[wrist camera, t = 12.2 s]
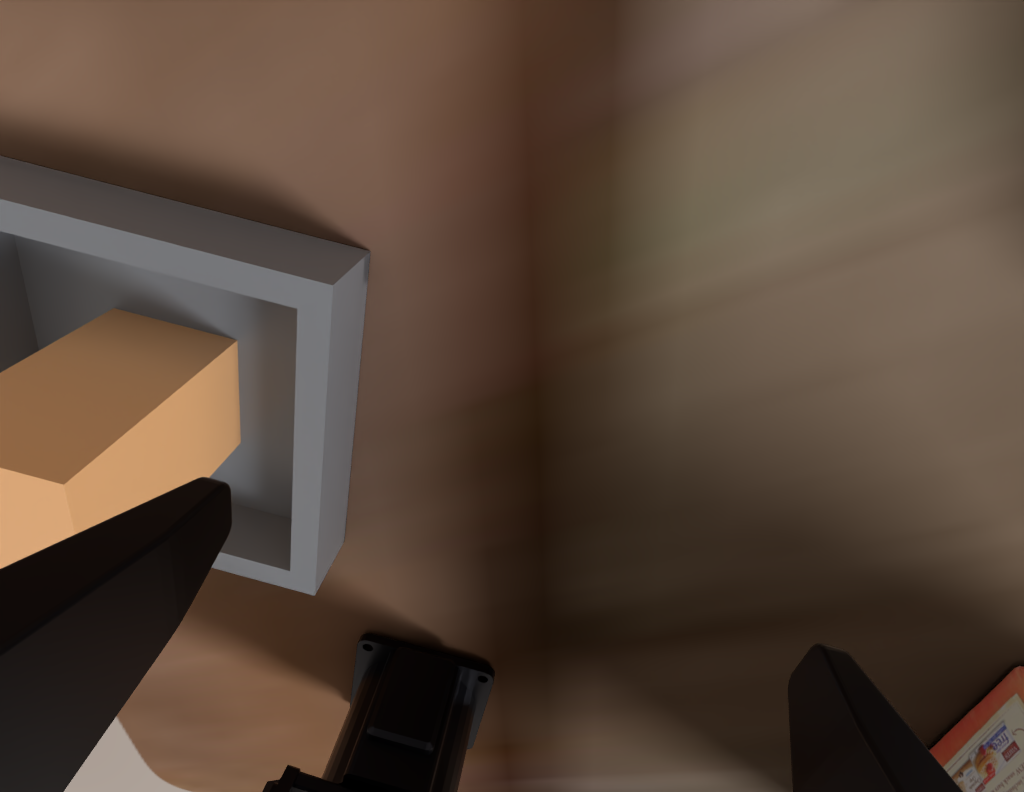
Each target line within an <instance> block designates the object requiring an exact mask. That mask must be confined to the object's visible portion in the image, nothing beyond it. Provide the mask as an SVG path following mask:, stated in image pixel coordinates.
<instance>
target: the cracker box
mask: <svg viewBox="0 0 1024 792" xmlns="http://www.w3.org/2000/svg"><path fill="white" fill-rule="evenodd" d="M929 751H930V752H931V753H932V755H933V756H934V757H935V758H936V760H937V761H938V762H939V763H940V764H941V766H942V767H943V768H944V769H945V770H946V772H947V773H948V774H949V775H950V776H951V778H952V779H953V780H954V781H955V783H956V784H957V785H958V786H959V787H960V789H961V790H962V791H963V792H1024V667H1023V666H1018V667H1016V668H1014V669H1013V670H1012V671H1011V672H1010V673H1009V674H1008V675H1007V676H1006V677H1005V678H1004V679H1003V680H1002V681H1001V682H1000V683H999V684H998V685H997V686H996V687H995V688H994V689H993V690H992V691H991V692H990V693H989V694H988V695H987V696H986V697H985V698H984V699H983V700H982V701H981V702H980V703H979V704H977V705H976V706H975V707H974V708H973V709H972V710H971V711H970V712H969V713H968V714H967V715H966V716H965V717H964V718H962V719H961V720H960V721H959V722H958V723H957V724H956V725H955V726H954V727H953V728H952V729H951V730H950V731H949V732H948V733H947V734H946V735H945V736H944V737H943V738H942V739H941V740H940V741H939V742H938V743H937V744H936V745H935V746H934V747H933V748H931V749H930V750H929Z"/></svg>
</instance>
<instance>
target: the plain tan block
mask: <svg viewBox="0 0 1024 792" xmlns="http://www.w3.org/2000/svg"><path fill="white" fill-rule="evenodd" d="M240 443H241V435H240V404H239V373H238V342H237V340H234V339H230V338H227V337H223V336H219V335H215V334H211V333H207V332H203V331H200V330H196V329H192V328H188V327H184V326H180V325H177V324H173V323H169V322H165V321H161V320H157V319H154V318H150V317H146V316H142V315H138V314H134V313H131V312H127V311H123V310H119V309H115V308H113V309H111V310H110V311H108V312H106V313H104V314H103V315H101V316H99V317H97V318H96V319H94V320H92V321H90V322H89V323H87V324H85V325H83V326H82V327H80V328H78V329H76V330H74V331H73V332H71V333H69V334H67V335H66V336H64V337H62V338H60V339H59V340H57V341H55V342H53V343H52V344H50V345H48V346H46V347H45V348H43V349H41V350H39V351H38V352H36V353H34V354H32V355H31V356H29V357H27V358H25V359H24V360H22V361H20V362H18V363H17V364H15V365H13V366H11V367H10V368H8V369H6V370H4V371H3V372H1V373H0V569H1V568H3V567H5V566H8V565H10V564H12V563H14V562H16V561H18V560H21V559H23V558H25V557H27V556H29V555H31V554H34V553H36V552H38V551H40V550H42V549H44V548H47V547H49V546H51V545H53V544H55V543H58V542H60V541H62V540H64V539H66V538H68V537H71V536H73V535H75V534H77V533H79V532H81V531H84V530H86V529H88V528H90V527H92V526H95V525H97V524H99V523H101V522H103V521H105V520H108V519H110V518H112V517H114V516H116V515H118V514H121V513H123V512H125V511H127V510H129V509H131V508H134V507H136V506H138V505H140V504H142V503H145V502H147V501H149V500H151V499H153V498H155V497H158V496H160V495H162V494H164V493H166V492H168V491H171V490H173V489H175V488H177V487H179V486H182V485H184V484H186V483H188V482H190V481H192V480H195V479H197V478H200V477H208V478H209V477H210V476H211V475H212V474H213V473H214V472H215V471H216V469H217V468H218V467H219V466H220V465H221V464H222V463H223V462H224V461H225V460H226V458H227V457H228V456H229V455H230V454H231V453H232V452H233V451H234V450H235V449H236V447H237V446H238V445H239V444H240Z"/></svg>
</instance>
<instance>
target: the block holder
mask: <svg viewBox="0 0 1024 792" xmlns="http://www.w3.org/2000/svg"><path fill="white" fill-rule="evenodd" d="M369 262H370V251H367V250H364V249H360V248H356V247H352V246H348V245H344V244H340V243H336V242H333V241H329V240H325V239H321V238H317V237H313V236H309V235H305V234H302V233H298V232H294V231H290V230H286V229H282V228H278V227H274V226H271V225H267V224H263V223H259V222H255V221H251V220H247V219H244V218H240V217H236V216H232V215H228V214H224V213H220V212H216V211H213V210H209V209H205V208H201V207H197V206H193V205H189V204H185V203H182V202H178V201H174V200H170V199H166V198H162V197H158V196H154V195H151V194H147V193H143V192H139V191H135V190H131V189H127V188H124V187H120V186H116V185H112V184H108V183H104V182H100V181H96V180H93V179H89V178H85V177H81V176H77V175H73V174H69V173H65V172H62V171H58V170H54V169H50V168H46V167H42V166H38V165H34V164H31V163H27V162H23V161H19V160H15V159H11V158H7V157H4V156H0V373H1V372H3V371H4V370H6V369H8V368H10V367H11V366H13V365H15V364H17V363H18V362H20V361H22V360H24V359H25V358H27V357H29V356H31V355H32V354H34V353H36V352H38V351H39V350H41V349H43V348H45V347H46V346H48V345H50V344H52V343H53V342H55V341H57V340H59V339H60V338H62V337H64V336H66V335H67V334H69V333H71V332H73V331H74V330H76V329H78V328H80V327H82V326H83V325H85V324H87V323H89V322H90V321H92V320H94V319H96V318H97V317H99V316H101V315H103V314H104V313H106V312H108V311H110V310H111V309H113V308H115V309H119V310H123V311H127V312H131V313H134V314H138V315H142V316H146V317H150V318H154V319H157V320H161V321H165V322H169V323H173V324H177V325H180V326H184V327H188V328H192V329H196V330H200V331H203V332H207V333H211V334H215V335H219V336H223V337H227V338H230V339H234V340H237V342H238V373H239V404H240V435H241V443H240V444H239V445H238V446H237V447H236V449H235V450H234V451H233V452H232V453H231V454H230V455H229V456H228V457H227V458H226V460H225V461H224V462H223V463H222V464H221V465H220V466H219V467H218V468H217V469H216V471H215V472H214V473H213V474H212V475H211V476H210V477H209V478H212V479H216V480H219V481H223V482H226V483H228V484H229V486H230V488H231V502H232V527H231V531H230V533H229V536H228V538H227V540H226V542H225V543H224V545H223V547H222V549H221V551H220V553H219V554H218V556H217V558H216V560H215V562H214V563H213V565H212V567H211V568H215V569H219V570H222V571H226V572H229V573H233V574H237V575H240V576H244V577H248V578H251V579H255V580H259V581H262V582H266V583H270V584H273V585H277V586H281V587H284V588H288V589H292V590H295V591H299V592H303V593H306V594H310V595H313V596H315V594H316V592H317V591H318V589H319V587H320V585H321V583H322V581H323V580H324V578H325V576H326V574H327V572H328V570H329V568H330V567H331V565H332V563H333V561H334V559H335V557H336V556H337V554H338V552H339V550H340V548H341V546H342V544H343V543H344V539H345V528H346V517H347V506H348V494H349V483H350V472H351V461H352V450H353V439H354V428H355V417H356V406H357V395H358V384H359V372H360V361H361V350H362V339H363V328H364V317H365V306H366V295H367V284H368V273H369Z"/></svg>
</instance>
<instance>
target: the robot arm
mask: <svg viewBox="0 0 1024 792" xmlns="http://www.w3.org/2000/svg"><path fill="white" fill-rule="evenodd" d="M231 527H232V502H231V488H230V486H229V484H228V483H226V482H223V481H219V480H216V479H212V478H208V477H200V478H197V479H195V480H192V481H190V482H188V483H186V484H184V485H182V486H179V487H177V488H175V489H173V490H171V491H168V492H166V493H164V494H162V495H160V496H158V497H155V498H153V499H151V500H149V501H147V502H145V503H142V504H140V505H138V506H136V507H134V508H131V509H129V510H127V511H125V512H123V513H121V514H118V515H116V516H114V517H112V518H110V519H108V520H105V521H103V522H101V523H99V524H97V525H95V526H92V527H90V528H88V529H86V530H84V531H81V532H79V533H77V534H75V535H73V536H71V537H68V538H66V539H64V540H62V541H60V542H58V543H55V544H53V545H51V546H49V547H47V548H44V549H42V550H40V551H38V552H36V553H34V554H31V555H29V556H27V557H25V558H23V559H21V560H18V561H16V562H14V563H12V564H10V565H8V566H5V567H3V568H1V569H0V792H64V790H65V789H66V787H67V786H68V784H69V783H70V782H71V780H72V779H73V777H74V776H75V774H76V773H77V771H78V770H79V769H80V767H81V766H82V764H83V763H84V761H85V760H86V759H87V757H88V756H89V754H90V753H91V751H92V750H93V749H94V747H95V746H96V744H97V743H98V741H99V740H100V739H101V737H102V736H103V734H104V733H105V731H106V730H107V729H108V727H109V726H110V724H111V723H112V721H113V720H114V719H115V717H116V716H117V714H118V713H119V711H120V710H121V708H122V707H123V706H124V704H125V703H126V701H127V700H128V698H129V697H130V696H131V694H132V693H133V691H134V690H135V688H136V687H137V686H138V684H139V683H140V681H141V680H142V678H143V677H144V676H145V674H146V673H147V671H148V670H149V668H150V667H151V666H152V664H153V663H154V661H155V660H156V658H157V657H158V656H159V654H160V653H161V651H162V650H163V648H164V647H165V645H166V644H167V643H168V641H169V640H170V638H171V637H172V635H173V634H174V632H175V631H176V629H177V628H178V626H179V625H180V623H181V621H182V619H183V618H184V616H185V614H186V613H187V611H188V609H189V607H190V605H191V604H192V602H193V600H194V598H195V596H196V594H197V593H198V591H199V589H200V587H201V585H202V584H203V582H204V580H205V578H206V576H207V574H208V573H209V571H210V569H211V567H212V565H213V563H214V562H215V560H216V558H217V556H218V554H219V553H220V551H221V549H222V547H223V545H224V543H225V542H226V540H227V538H228V536H229V533H230V531H231ZM494 676H495V671H494V670H493V669H492V668H491V667H489V666H487V665H484V664H480V663H476V662H473V661H469V660H465V659H462V658H458V657H454V656H451V655H447V654H444V653H440V652H436V651H433V650H429V649H425V648H422V647H418V646H414V645H411V644H407V643H404V642H400V641H396V640H393V639H389V638H385V637H382V636H378V635H374V634H370V633H366V634H363V635H362V636H361V638H360V640H359V642H358V645H357V653H356V661H355V669H354V677H353V686H352V694H351V702H350V709H349V712H348V714H347V717H346V719H345V722H344V724H343V727H342V729H341V732H340V734H339V737H338V739H337V741H336V744H335V746H334V749H333V751H332V754H331V756H330V759H329V761H328V764H327V766H326V769H325V771H324V774H323V776H322V779H321V778H318V777H315V776H312V775H309V774H306V773H303V772H300V768H297V767H294V766H290V765H288V766H287V767H286V769H285V771H284V773H283V775H282V777H281V778H280V780H274V781H268V782H267V783H266V785H265V787H264V789H263V792H457V790H458V786H459V781H460V777H461V772H462V768H463V763H464V759H465V754H466V750H467V749H470V748H472V747H473V744H474V741H475V738H476V735H477V732H478V729H479V725H480V722H481V719H482V716H483V713H484V710H485V707H486V703H487V700H488V697H489V694H490V691H491V688H492V685H493V681H494ZM788 701H789V722H790V742H791V763H792V782H793V792H963V791H962V790H961V789H960V787H959V786H958V785H957V784H956V783H955V781H954V780H953V779H952V778H951V776H950V775H949V774H948V773H947V772H946V770H945V769H944V768H943V767H942V766H941V764H940V763H939V762H938V761H937V760H936V758H935V757H934V756H933V755H932V753H931V752H930V751H929V750H928V749H927V747H926V746H925V745H924V744H923V743H922V741H921V740H920V739H919V738H918V736H917V735H916V734H915V733H914V732H913V730H912V729H911V728H910V727H909V726H908V724H907V723H906V722H905V721H904V719H903V718H902V717H901V716H900V715H899V713H898V712H897V711H896V710H895V709H894V707H893V706H892V705H891V704H890V703H889V701H888V700H887V699H886V698H885V696H884V695H883V694H882V693H881V692H880V690H879V689H878V688H877V687H876V686H875V684H874V683H873V682H872V681H871V679H870V678H869V677H868V676H867V675H866V673H865V672H864V671H863V670H862V669H861V667H860V666H859V665H858V664H857V663H856V661H855V660H854V659H853V658H852V656H851V655H850V654H849V653H848V652H846V651H845V650H843V649H841V648H837V647H833V646H829V645H826V644H822V643H817V644H815V645H813V646H812V647H811V648H810V650H809V651H808V652H807V654H806V655H805V657H804V658H803V659H802V661H801V662H800V663H799V665H798V666H797V667H796V669H795V670H794V672H793V673H792V675H791V677H790V680H789V685H788Z"/></svg>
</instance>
